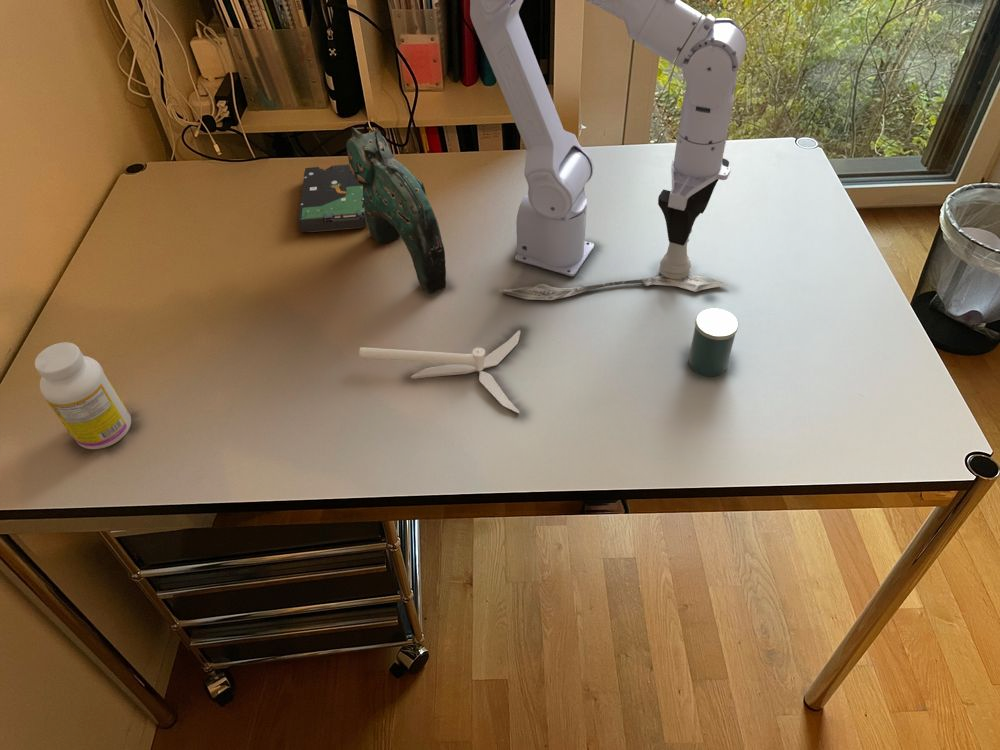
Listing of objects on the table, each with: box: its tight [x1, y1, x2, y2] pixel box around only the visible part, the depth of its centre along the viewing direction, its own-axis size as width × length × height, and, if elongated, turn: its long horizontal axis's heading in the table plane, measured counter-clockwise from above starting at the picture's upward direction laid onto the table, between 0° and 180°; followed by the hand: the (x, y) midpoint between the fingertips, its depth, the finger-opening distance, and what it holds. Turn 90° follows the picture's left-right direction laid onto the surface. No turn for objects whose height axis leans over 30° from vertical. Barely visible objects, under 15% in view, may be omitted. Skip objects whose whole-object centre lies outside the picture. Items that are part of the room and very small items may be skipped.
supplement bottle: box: [34, 341, 132, 450], centre depth 90 cm, size 7×7×13 cm
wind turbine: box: [358, 330, 522, 414], centre depth 99 cm, size 4×14×21 cm
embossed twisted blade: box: [497, 274, 730, 301], centre depth 108 cm, size 32×1×5 cm
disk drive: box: [297, 164, 368, 233], centre depth 125 cm, size 10×3×15 cm
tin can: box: [688, 307, 739, 377], centre depth 96 cm, size 5×5×7 cm
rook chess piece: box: [658, 228, 693, 279], centre depth 108 cm, size 4×4×8 cm
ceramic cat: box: [345, 127, 447, 295], centre depth 108 cm, size 20×6×20 cm, turn 33°
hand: (686, 226), depth 102 cm, fingers open, 7 cm apart
